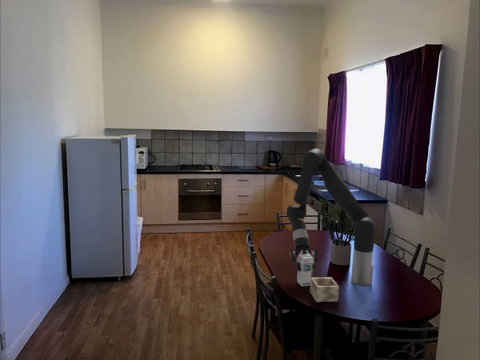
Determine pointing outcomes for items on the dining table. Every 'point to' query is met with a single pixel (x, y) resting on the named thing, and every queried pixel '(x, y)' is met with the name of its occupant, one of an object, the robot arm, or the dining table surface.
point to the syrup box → (305, 269)
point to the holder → (324, 289)
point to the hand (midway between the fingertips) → (306, 270)
